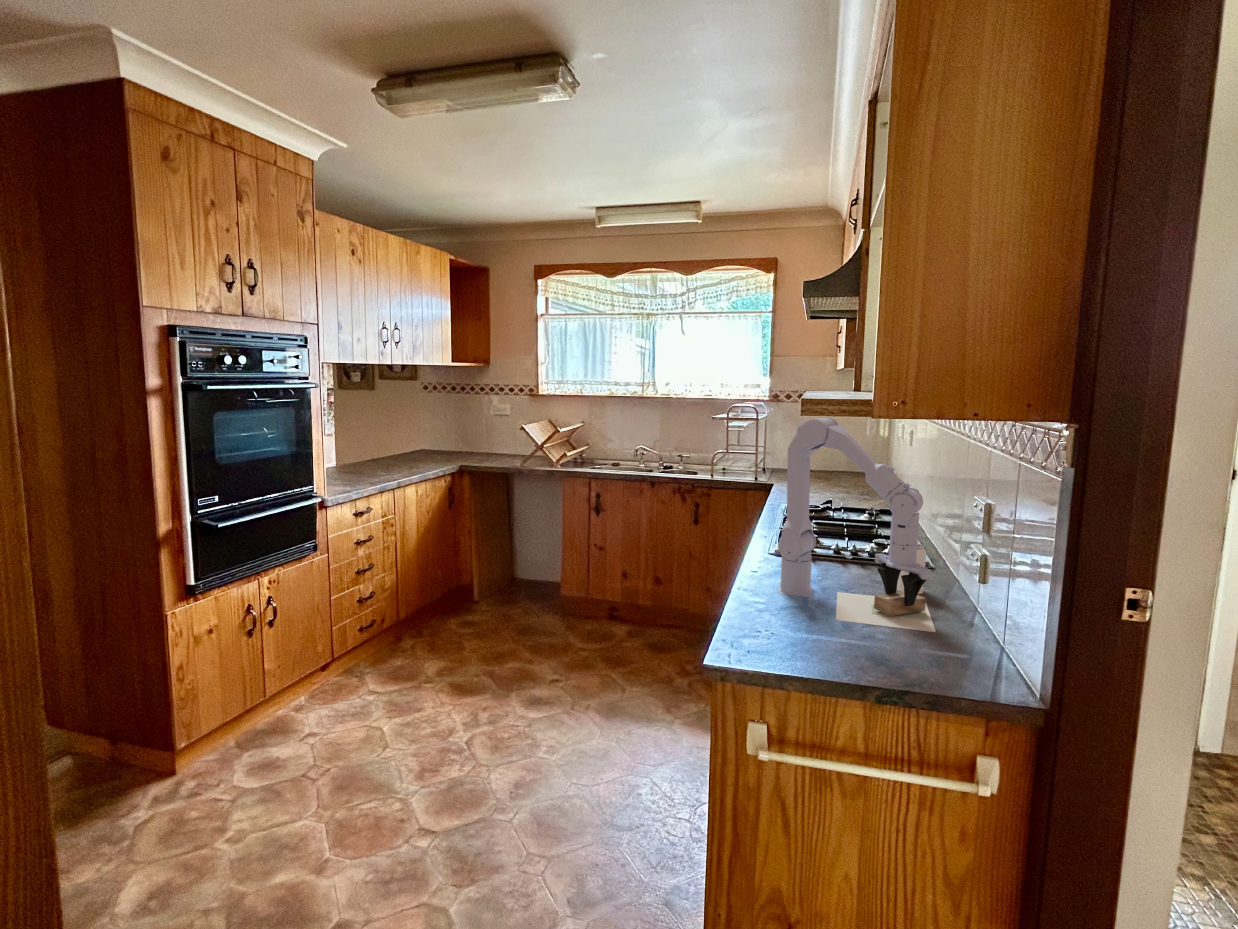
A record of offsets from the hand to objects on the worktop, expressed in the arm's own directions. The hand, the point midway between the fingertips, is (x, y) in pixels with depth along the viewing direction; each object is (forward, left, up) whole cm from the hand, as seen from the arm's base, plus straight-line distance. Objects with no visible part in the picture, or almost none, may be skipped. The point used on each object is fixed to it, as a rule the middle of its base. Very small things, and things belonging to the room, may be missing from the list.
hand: (899, 601), depth 150 cm
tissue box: (0, 0, -2) cm, 2 cm away
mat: (0, -3, -3) cm, 5 cm away
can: (-18, +4, -3) cm, 19 cm away
